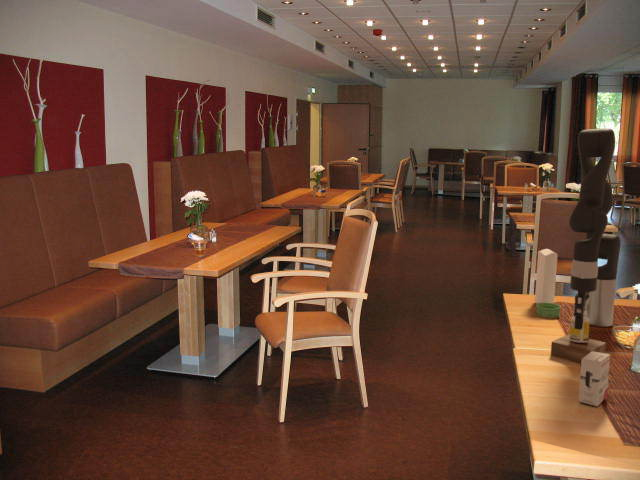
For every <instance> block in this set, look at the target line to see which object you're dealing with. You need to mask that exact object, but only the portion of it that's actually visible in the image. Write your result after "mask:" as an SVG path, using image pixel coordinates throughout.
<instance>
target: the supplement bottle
mask: <svg viewBox="0 0 640 480" xmlns="http://www.w3.org/2000/svg"><path fill="white" fill-rule="evenodd" d="M574 310H575V309H574V308H573V311H574ZM577 313H581V311H577ZM587 313H588V311H587V310H586V311H585V312H584V317H583V327H582V329H581V330H580V329H575V328H574V327H575V316H574V315H573V316H571V318H570V328H569V329H570V330H569V334H570V340H571V341H573V342H578V343H587V342H588V340H589V339H590V337H589V335H590V324H589V318H587V317H586V316H587Z"/></svg>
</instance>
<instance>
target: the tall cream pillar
mask: <svg viewBox="0 0 640 480" xmlns="http://www.w3.org/2000/svg"><path fill="white" fill-rule="evenodd" d="M557 265H558V253H557V252H555V251H553V250H552V249H549V248H544V249H541V250H538V251H537V263H536V279H535V292H534V294H535V295H534V302H535V304H537V303H553V304H555V293H556V280H557V279H556V278H557Z"/></svg>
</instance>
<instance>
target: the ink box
mask: <svg viewBox="0 0 640 480" xmlns="http://www.w3.org/2000/svg"><path fill="white" fill-rule="evenodd" d="M610 361H611V354H609V353H607V352H606V353H600V352H593V351H591V352H590V353H589V354H588V355H586V356H585V357H584V358H582V361H581V364H580V374H579V375H580V376H579V391H578V392H579V393H578V402H581V403H584V404H588V405H591V406H595V407H599V405H600V404H602V402H603V401H604V400H605V399H607V397H608V389H609V388H608V387H609V377H610V376H609V375H610V374H609V373H610V364H611V363H610Z"/></svg>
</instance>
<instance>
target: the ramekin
mask: <svg viewBox="0 0 640 480" xmlns="http://www.w3.org/2000/svg"><path fill="white" fill-rule="evenodd" d="M535 307H536V314H537V316H540V317H544V318H548V319H549V318H551V319H553V318H554V319H555V318H559V317H560V313H561V309H562V306H561V304H560V305H559V304H557V303H535Z"/></svg>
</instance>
